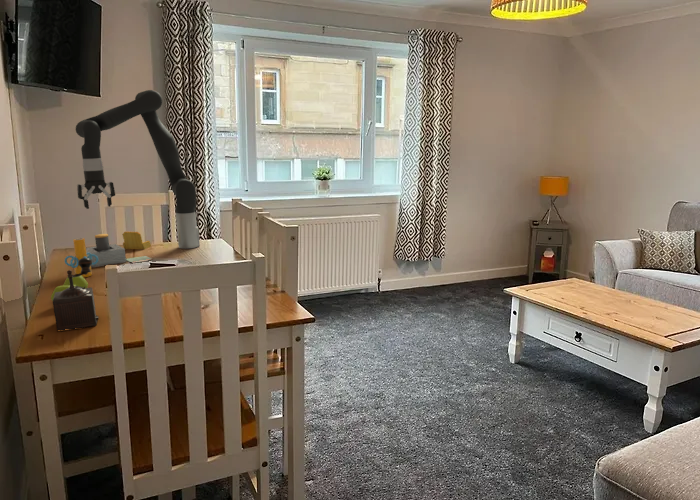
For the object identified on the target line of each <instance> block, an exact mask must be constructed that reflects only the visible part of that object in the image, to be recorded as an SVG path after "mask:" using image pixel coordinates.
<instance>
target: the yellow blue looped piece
mask: <svg viewBox="0 0 700 500" xmlns="http://www.w3.org/2000/svg"><path fill="white" fill-rule="evenodd" d="M85 240H86V239H85V237H80V238H79V237H77V238H74V239H72V241H73V248H74V256H73V255H68V256H65V258H64V264H65V265H66V266H68V267H71V268H73V269H74V275H75V274H79V273H81V270H82V268H81V267H80V266H79V265H78V261H79V260H80V259H82V258H89V257H90V259H91V260H92V256H94V257H95V258H96V262H94V263H92V264H91V265H94V264H96V263H97V262H98V257H97V256H96V255H94V254H91V253H89V252H88V253H86V248H87V247H86V241H85ZM88 254H89V256H88V257H87V255H88ZM69 258H71V259H70V262H68V259H69ZM90 270H91V272H89V273H87V274H86V275H85V274H83V275H81V276H83V278H84V279H85V278H89V277H92V276H93V272H92V271H93V270H92V267H91V266H90Z"/></svg>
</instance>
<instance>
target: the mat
mask: <svg viewBox="0 0 700 500" xmlns="http://www.w3.org/2000/svg"><path fill="white" fill-rule="evenodd" d="M146 259H152V258H151V257H150V256H146V255H143V256H137V257H129V258H126V262H128V263H130V262H133V261H139V260H146Z"/></svg>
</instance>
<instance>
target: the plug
mask: <svg viewBox="0 0 700 500" xmlns="http://www.w3.org/2000/svg"><path fill="white" fill-rule="evenodd" d="M94 239H95V240H94V241H95V246H96V249H97V251H101V250H108V249H110V247H109V245H110V239H109V234H108V233H100V234H95V235H94Z"/></svg>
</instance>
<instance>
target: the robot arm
mask: <svg viewBox="0 0 700 500" xmlns="http://www.w3.org/2000/svg"><path fill="white" fill-rule="evenodd" d="M162 105H163V97H162V95H161V94H160V92H158V91H156V90H153V89H147V90H144V91H141V92H138V93H137V94H136V95H135V98H134V99H133V100H131V101H129V102H126V103H124V104H121V105H118V106H115V107H113V108H110V109H108V110H105V111H103V112H102V113H99V114H98V115H95V116H92V117H88V118H86V119H83V120H81V121H79V122H78V123H76V125H75V133H76V134H77V135H78V136H79V137H80V138H84V139H83V141H84V142H83V145H81V156H82V169H83V176H84V183H83V184H79V183H78V184H77V185H76V186H77V188H76V191H77V198H78V199H79V200H82V201H83V206H84V208H85V209H86V210H89V209H90V207H89V206H90V205H89V199H88V198H89V197H90V196H91V195H92V194H93V195H94V194H103V195H105V197H106V202H107V207H111V206H112V197H115V196H116V191H115V185H114V182H112V181H109V182H106V179H105V173H104V166H103V161H102V155H101V148H100V147H101V140H102V138H101V137H102V133H101V132H102V131H107V130H111V129H112V128H115V127H117V126H119V125H121V124H123V123H125V122H127V121H130V120H131V119H133V118H135V117H137V116H139V115H140V116H141V118H142V120H143V122H144V125H146V128H147V130H148V134H149V135H150V137H151V140H152V142H153V145H154V147H155V150H156V153H157V155H158V157H159V159H160V161H161V164H162V165H163V168H164V169H165V171H166V174H167V176H168V180H169V183H170V187H171V191H172V193H173V194H174V196H175V198H176V200H175V201H176V205H175V208H174V209H175V219H176V230H177V232H176V233H177V240H178V241H177V244H178V249H183V250H185V249H186V250H187V249H188V250H189V249H195V248H198V247H200V246H201V243H200V233H199V227H198V226H197V216H196V213H197V212H196V206H197V196H196V195H197V193H196V187H195V185H194V183H193V182H192V181H191V180H189V179H187V177H186V175H185V173H184V170H183V168H182V166H181V160H180V152H179V150H178V149H179V148H178V145H177V144H176V141H175V139H174V137H173V135H172V133H171V132H170V131H169V129H167V127H166V126H165V125H164V124H163V123H162V121H161V119H160V118H159V115H158V112H157V111H158V110H159V109H161V107H162ZM106 187H108V188H109V191H110V193H109V192H108V191H107V190H106V189H105V188H106ZM84 188H85V189H86V192H85V193H84V194H83V190H84Z"/></svg>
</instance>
